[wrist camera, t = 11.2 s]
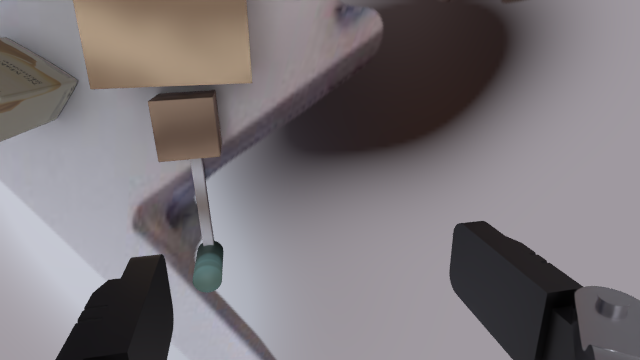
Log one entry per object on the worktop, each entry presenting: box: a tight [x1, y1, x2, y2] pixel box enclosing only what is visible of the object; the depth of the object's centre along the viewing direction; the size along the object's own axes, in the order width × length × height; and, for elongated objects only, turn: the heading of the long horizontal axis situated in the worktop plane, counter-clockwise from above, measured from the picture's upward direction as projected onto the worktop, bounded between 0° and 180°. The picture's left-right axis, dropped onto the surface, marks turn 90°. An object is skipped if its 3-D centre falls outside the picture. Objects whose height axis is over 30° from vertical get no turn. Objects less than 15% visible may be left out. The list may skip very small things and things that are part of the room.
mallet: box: [148, 90, 223, 292], centre depth 38 cm, size 18×5×6 cm, turn 3°
